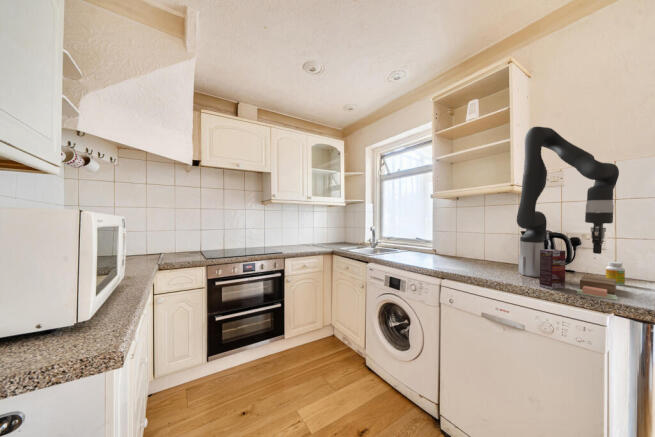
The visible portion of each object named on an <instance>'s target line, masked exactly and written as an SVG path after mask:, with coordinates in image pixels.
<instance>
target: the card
mask: <svg viewBox="0 0 655 437" xmlns="http://www.w3.org/2000/svg"><path fill="white" fill-rule="evenodd" d="M582 293H584V294H590V295H596V296H602V297H607V289H601V288H595V287H588V286H583V288H582Z"/></svg>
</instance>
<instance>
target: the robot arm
mask: <svg viewBox="0 0 655 437" xmlns="http://www.w3.org/2000/svg"><path fill="white" fill-rule="evenodd" d="M542 147H543V148H546V149H548V150H551V151H553V152H554V153H555V154H557V156H558V157H559V159H561V160H562V161H563V162H565V163H566V164H568V165H569V166H571V167H572V168H575V169H576V170H577V172H578V173H579V174H580V175H582V177H584V178H586V179H588V180H592V181H594V183H593V186H590V187H589V188H587V191H586V192H587V194H586V204H585V213H584V214H585V217H584V218H585V219H584V222H585V223H587V224H593V227H590V232H591V233H590V234H591V235H590V238H591V243H592V253H593V254H596V255H597V254H599V255H601V254H602V248H603V246H602V245H603V242H604V240H605V237H606V236H605V235H606V234H605V233H606V232H607V231H606V230H607V228H606V227H604V224H613V223H614V210H615V209H614V206H615V205H614V189H615V187H616V184H617V182H618V179H619V175H620V170H619V167H618V166H617V165H616V164H614V163H612V162H611V163H609V162H601V161H599V160H598V159H595V156H594V155H593V154H592V153H589V152H588V151H586V150H584V149H582V148H580V147H578V146H577V145H575V144H573V143H572V142H569V141H568V140H567V139H565V138H564V137H563V136H562V135H560V133H558V132H557V131H555V130H554V129H553V128H551V127H547V126H533V127H531V128H529V129H528V130H527V132H526V133H525V136H524V162H523V163H524V164H523V174H522V183H521V192H520V193H521V195H520V202H519V206H518V211H517V215H516V224H517V225H518V227H519V228H521V229H523V230H524V229H525V232H524V234H522V235H521V236H520V238H519V239H520V240H519V255H518V274H520V275H522V276H526V277H527V276H528V277H535V278H536V277H537V278H540V250H545V249H544V246H545V245H544V244H545V242H544V240H545V238H546V236H547V224H548V223H547V217H546V215H545V213H543V212H542V211H536V206H537V202H538V200H539V198H540V195H541V194H542V193H543V191H544V189H545V188H546V186H547V179H548V170H547V167H546V164H545V162H544V160H543V156H542Z"/></svg>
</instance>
